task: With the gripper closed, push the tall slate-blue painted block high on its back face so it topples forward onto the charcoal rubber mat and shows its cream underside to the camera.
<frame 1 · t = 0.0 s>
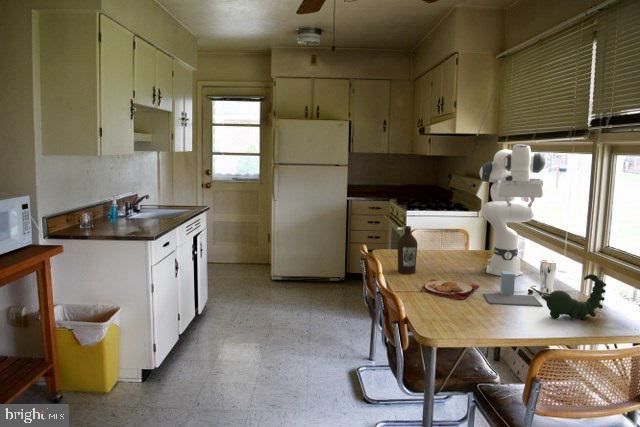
hand: (519, 206, 240), 39 cm above the table, tool pointing down, fingers open, 8 cm apart
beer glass: (546, 292, 233), on the table
charcoal mat: (511, 300, 221), on the table
toy figurine: (570, 318, 198), on the table
plate with food: (446, 291, 236), on the table
slate block: (506, 293, 230), on the table
brown bottle: (406, 272, 269), on the table
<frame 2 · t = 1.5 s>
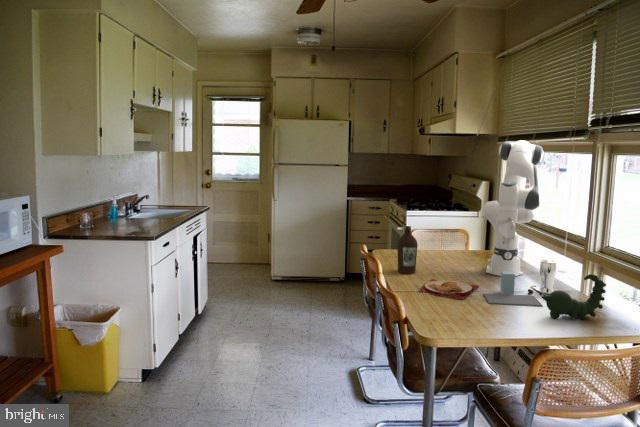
hand: (505, 245, 235), 21 cm above the table, tool pointing down, fingers open, 4 cm apart
nothing on the table moved.
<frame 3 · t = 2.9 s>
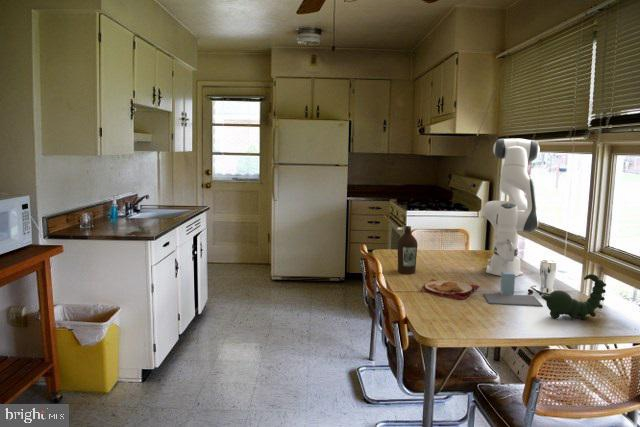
hand: (504, 267, 236), 11 cm above the table, tool pointing down, fingers closed
nothing on the table moved.
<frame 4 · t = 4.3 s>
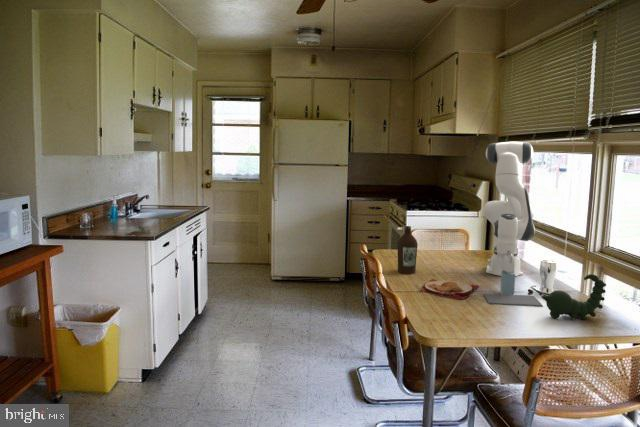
hand: (505, 277, 234), 6 cm above the table, tool pointing down, fingers closed
slate block: (506, 293, 230), on the table, touching gripper
everything else where it was.
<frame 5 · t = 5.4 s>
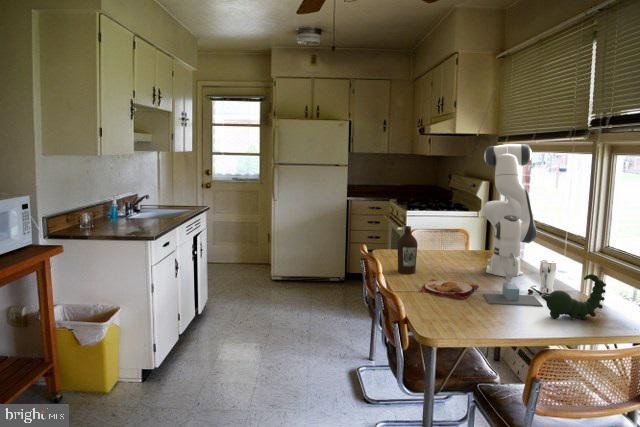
hand: (507, 281, 229), 6 cm above the table, tool pointing down, fingers closed
slate block: (508, 288, 228), point 3 cm above the table, tilted 90°, touching charcoal mat
everything else where it was.
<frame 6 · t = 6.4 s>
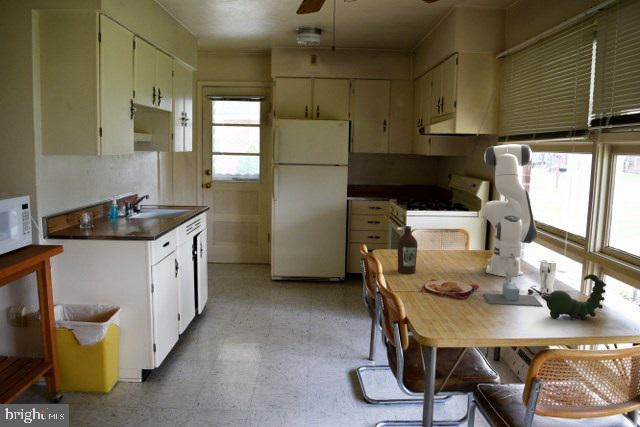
hand: (508, 281, 228), 6 cm above the table, tool pointing down, fingers closed
nothing on the table moved.
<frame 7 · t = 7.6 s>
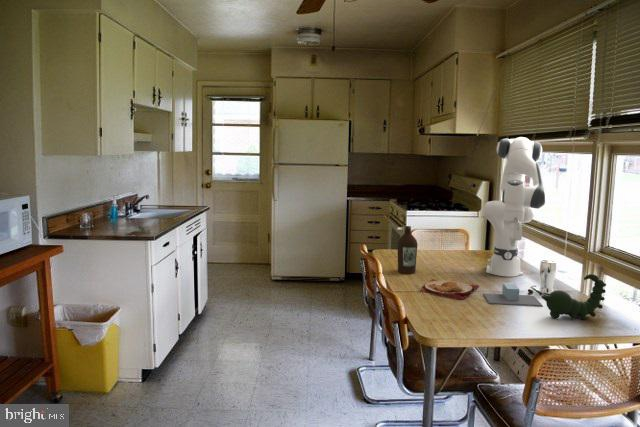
hand: (511, 246, 229), 22 cm above the table, tool pointing down, fingers closed
nothing on the table moved.
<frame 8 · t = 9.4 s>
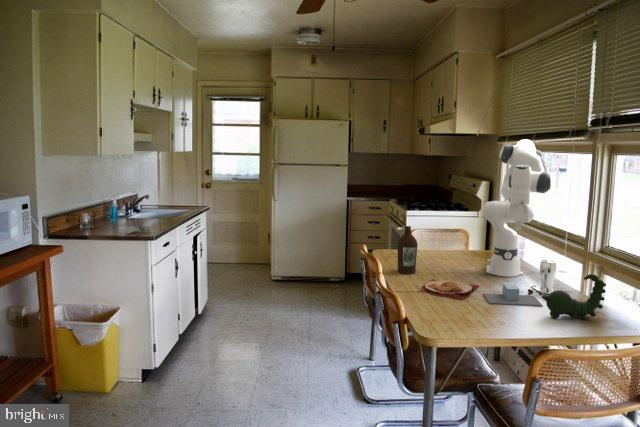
hand: (518, 229, 233), 29 cm above the table, tool pointing down, fingers closed
nothing on the table moved.
at the end: slate block tilted 90°; slate block inside the target area (4.3 cm from its centre), point 3.1 cm above the table; slate block touching charcoal mat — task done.
